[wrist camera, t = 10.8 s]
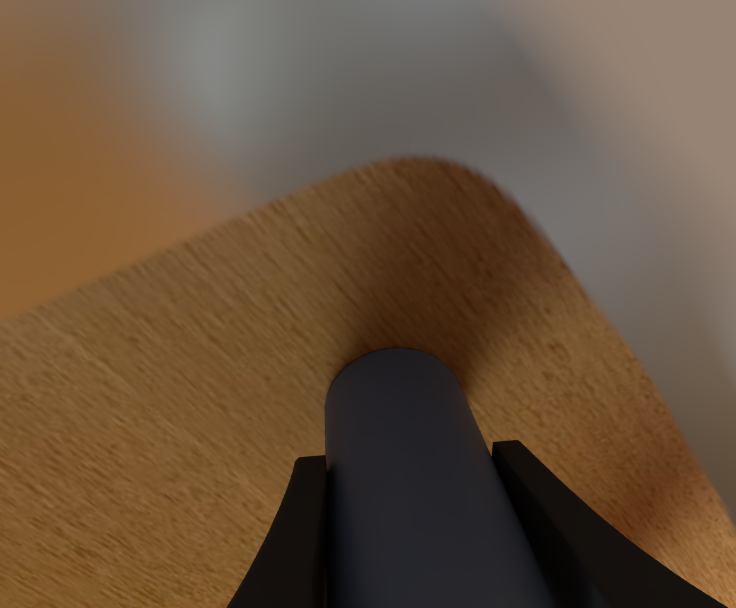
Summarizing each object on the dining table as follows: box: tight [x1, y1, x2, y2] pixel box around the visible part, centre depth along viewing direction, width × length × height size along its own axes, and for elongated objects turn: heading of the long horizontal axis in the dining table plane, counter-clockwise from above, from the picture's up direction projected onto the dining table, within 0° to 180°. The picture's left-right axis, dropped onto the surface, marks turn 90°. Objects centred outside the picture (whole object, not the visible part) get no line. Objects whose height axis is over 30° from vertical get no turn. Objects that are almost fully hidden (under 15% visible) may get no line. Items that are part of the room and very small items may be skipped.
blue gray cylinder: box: [325, 348, 558, 608], centre depth 11 cm, size 4×4×8 cm
